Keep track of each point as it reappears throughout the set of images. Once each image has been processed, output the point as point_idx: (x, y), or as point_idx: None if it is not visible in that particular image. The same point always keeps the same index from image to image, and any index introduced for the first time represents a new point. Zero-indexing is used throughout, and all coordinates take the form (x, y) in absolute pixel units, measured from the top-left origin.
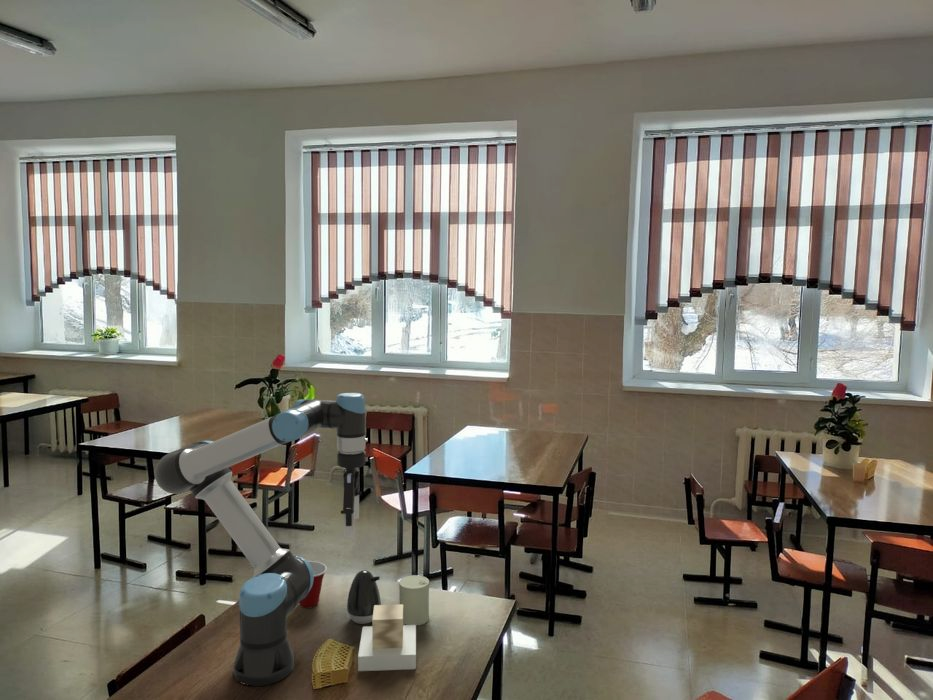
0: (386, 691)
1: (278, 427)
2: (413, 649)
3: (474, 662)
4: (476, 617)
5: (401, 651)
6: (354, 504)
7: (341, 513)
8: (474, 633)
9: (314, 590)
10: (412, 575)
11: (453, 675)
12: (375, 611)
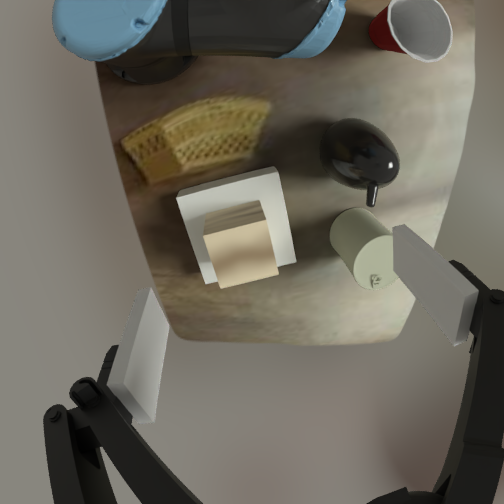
0: (144, 247)
1: None
2: None
3: (240, 334)
4: (356, 315)
5: (208, 261)
6: (431, 295)
7: (77, 385)
8: (313, 322)
9: (386, 42)
10: None
11: (205, 318)
12: (239, 230)
